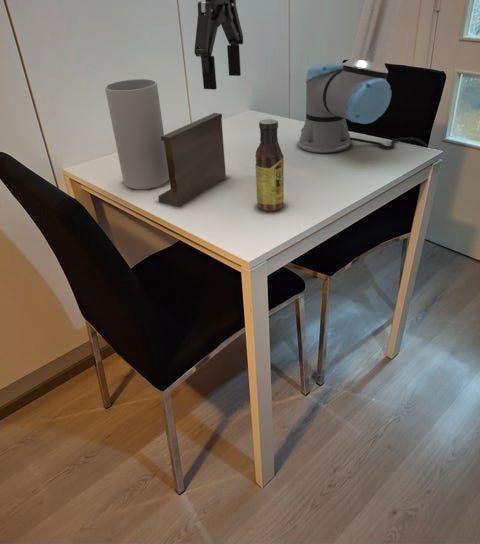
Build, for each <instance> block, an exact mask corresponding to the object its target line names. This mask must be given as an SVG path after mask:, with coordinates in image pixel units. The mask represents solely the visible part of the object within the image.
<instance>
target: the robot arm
mask: <svg viewBox="0 0 480 544" xmlns="http://www.w3.org/2000/svg"><path fill="white" fill-rule="evenodd" d="M401 3H402V0H364V3H363V6H362V10H361V14H360V19H359V23H358V27H357V32H356V35H355V40H354V44H353V48H352V53H351V56H350V57H349V59H348V60H346V61H345V62H333V63H325V64H317V65H313V66H310V67H309V68H308V69H307V72H306V79H305V83H306V84H305V85H306V87H305V88H306V90H305V122H304V124H303V127H302V128H301V129H300V136H299V144H298V145H299V147H300V148H301V149H302V150H304V151H307V152H309V153H310V152H311V153H316V154H332V153H333V154H334V153H338V152H343V151H345V150H347V149H349V148H350V146H351V141H354V142H360V143H366V144H372V145H376V146H380V147H381V148H383V149H392V148H394V147H395V143H396V142H404V141H414V142H418V143H420V144H421V145H423V146H424V147H425V148H429V145H428V144H427V143H426V142H425V141H424V140H421V139H420V138H416V137H399V138H394V139H392V140H391V143H390V145H385V144H384V143H381V142H378V141H374V140H368V139H362V138H357V137H351V135H350V131H349V127H348V123H347V120H348V121H350V122H351V123H358V124H362V125H367V124H371V123H373V122H375V121H377V120H378V119H379V118H381V117H382V116H383V115H384V113H385V112H386V110H387V109H388V107H389V105H390V103H391V99H392V89H391V85H390V83H389V82H388V81H387V78H388V75H389V70H388V68H387V67H386V59H387V55H388V51H389V48H390V45H391V41H392V36H393V34H394V29H395V25H396V21H397V19H398V14H399V11H400V7H401ZM220 26H221V28H222V31H223V33H224V36H225V38H226V40H227V42H228V44H227V45H226V50H227V64H228V65H227V67H228V76H229V77H230V76H231V77H232V76H233V77H240V76H241V75H242V74H241V73H242V71H241V54H240V53H241V52H240V45H244V35H243V29H242V26H241V21H240V16H239V13H238V8H237V2H236V0H205V1H204V0H203V1H198V2H197V22H196V32H195V41H194V50H193V51H194V55H195V56H196V57H197V58H198V57H200V62H201V74H202V75H201V76H202V85H203V90H217V76H216V64H215V63H216V62H215V55H213V50H214V46H215V41H216V38H217V33H218V28H219V27H220Z"/></svg>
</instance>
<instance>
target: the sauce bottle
mask: <svg viewBox="0 0 480 544" xmlns="http://www.w3.org/2000/svg"><path fill="white" fill-rule="evenodd" d="M258 127H259V134H260V138H259V141H260V143H259V145H258V146H257V148H256V151H255V186H256V187H255V189H256V201H257V207H258V209H259V210H261V211H264V212H275V211H278V210H280V209H282V208H283V206H284V199H285V198H284V195H285V194H284V188H285V185H284V180H285V179H284V155H283V151H282V149H281V147H280V143H279V138H278V128H279V121H278V120H277V119H275V118H265V119H262V120H261V119H260V121H259V122H258Z"/></svg>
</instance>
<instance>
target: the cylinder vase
mask: <svg viewBox="0 0 480 544" xmlns="http://www.w3.org/2000/svg"><path fill="white" fill-rule="evenodd" d="M104 90H105V95H106V101H107V105H108V111H109V115H110V116H109V117H110V121H111V125H112V131H113V135H114V141H115V145H116V152H117V156H118V161H119V166H120V167H119V168H120V171H121V176H122V177H121V178H122V181H123V184H124V185H125V186H126V187H128V188H129V189H133V190H150V189H155V188H158V187H161V186H164V185H165V184H167V182H168V181H170V180H169V173H168V166H167V159H166V152H165V145H164V141H162V140H161V136H163V135H165V131H164V125H163V124H164V123H163V118H162V117H163V116H162V110H161V104H160V96H159V89H158V83H157V81H156V80H154V79H149V78H147V79H146V78H136V79H135V78H134V79H124V80H119V81H114V82H111V83H108V84H107V85H104Z"/></svg>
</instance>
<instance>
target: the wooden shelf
mask: <svg viewBox="0 0 480 544" xmlns="http://www.w3.org/2000/svg"><path fill="white" fill-rule="evenodd" d="M222 119H223V113H218V112H213V113H210V114H209V115H206V116H203V117H202V118H199V119H197V120H195V121H193V122H191V123H188V124H186V125H184V126H181V127H179V128H177V129H175V130H173V131H170V132H168V133H166V134H164V135H163V136H161V140H162V141H164V145H165V152H166V159H167V166H168V173H169V180H168V181H169V187H170V189H167V191H164V192H163V193H161V194H159V195H158V196H157V197H158V202H159V203H163V204H166V205H170V206H173V207H177V208H180V207H182V206H184V205H185V204H186V203H188V202H190V201H192V200H193V199H194V198H196V197H198V196H199V195H201V194H203V193H205V192H206V191H208V190H209V189H211V188H212V187H214V186H216V185H218V184H219V183H220V182H222V181H223V180H225V179H227V172H226V161H225V160H226V159H225V147H224V134H223V133H224V131H223V120H222Z"/></svg>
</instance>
